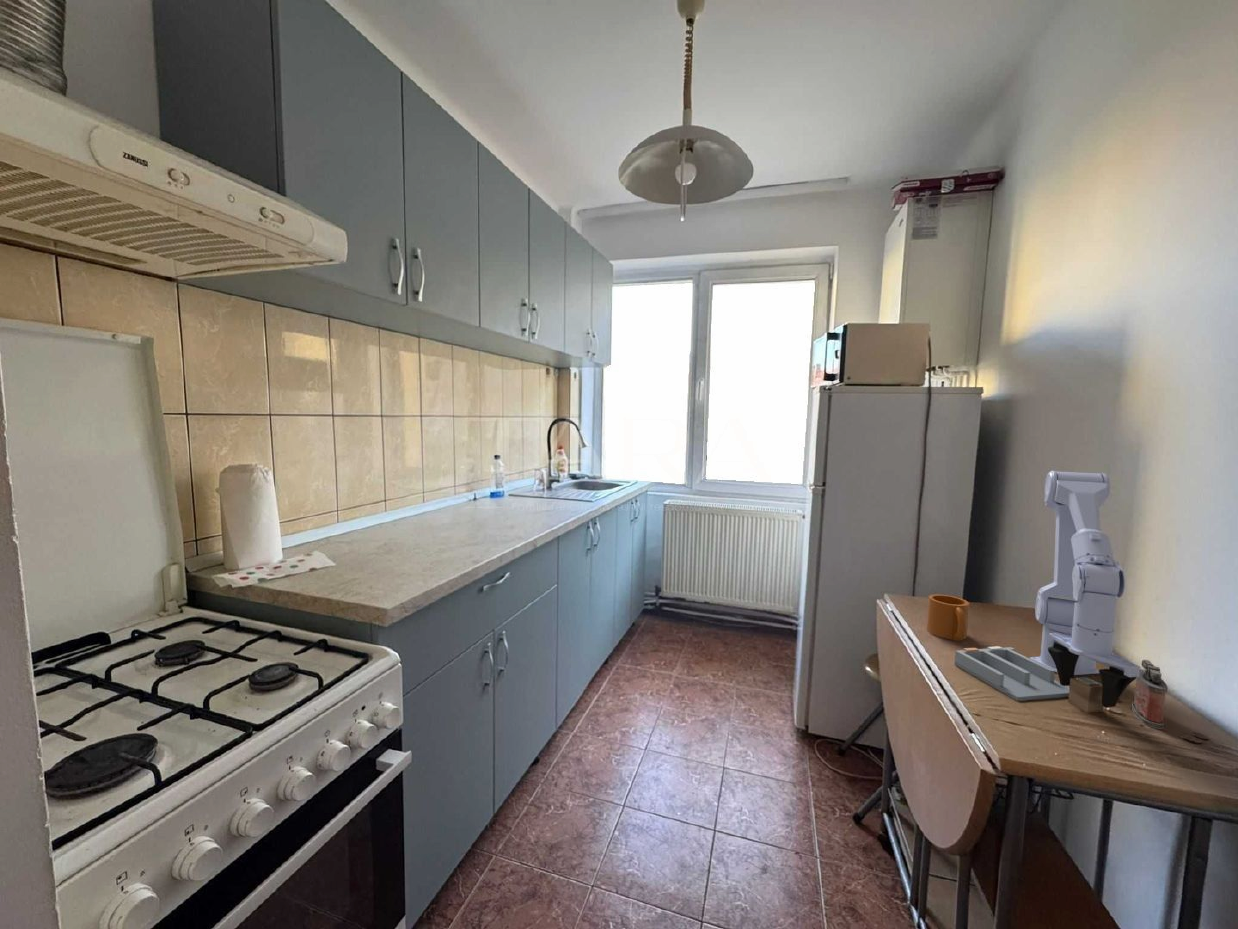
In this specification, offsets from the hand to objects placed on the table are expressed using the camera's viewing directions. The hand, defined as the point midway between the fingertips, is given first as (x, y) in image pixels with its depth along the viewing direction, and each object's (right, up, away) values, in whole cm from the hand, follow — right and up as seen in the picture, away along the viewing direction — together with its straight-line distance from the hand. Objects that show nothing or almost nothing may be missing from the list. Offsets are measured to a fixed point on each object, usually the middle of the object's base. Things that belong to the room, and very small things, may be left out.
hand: (1086, 695), depth 97 cm
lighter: (+9, -3, -3) cm, 10 cm away
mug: (-5, 0, +33) cm, 33 cm away
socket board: (-6, -1, +10) cm, 12 cm away
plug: (0, -2, 0) cm, 2 cm away
